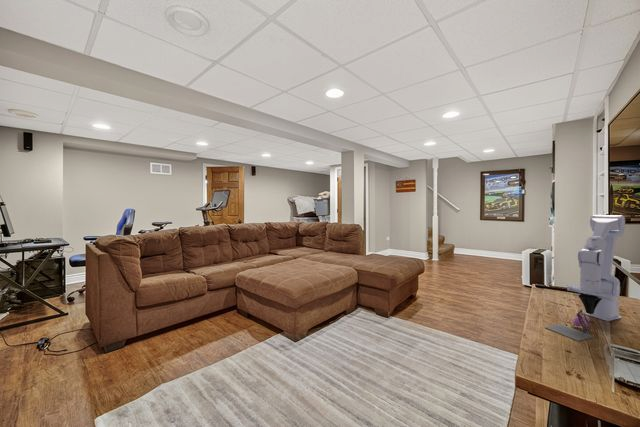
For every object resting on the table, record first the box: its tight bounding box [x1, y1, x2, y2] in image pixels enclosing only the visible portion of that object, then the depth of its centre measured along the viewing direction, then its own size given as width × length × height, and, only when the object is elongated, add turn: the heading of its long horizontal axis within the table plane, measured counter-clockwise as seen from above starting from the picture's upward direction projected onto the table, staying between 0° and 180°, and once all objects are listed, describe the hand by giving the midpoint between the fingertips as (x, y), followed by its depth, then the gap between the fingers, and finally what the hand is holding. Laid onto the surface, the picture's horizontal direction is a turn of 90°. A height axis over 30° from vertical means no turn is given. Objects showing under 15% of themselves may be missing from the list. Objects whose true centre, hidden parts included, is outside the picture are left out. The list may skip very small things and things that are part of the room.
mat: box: [544, 323, 596, 342], centre depth 103 cm, size 9×11×1 cm
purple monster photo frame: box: [571, 308, 592, 334], centre depth 106 cm, size 7×5×9 cm
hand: (589, 313), depth 108 cm, fingers closed
